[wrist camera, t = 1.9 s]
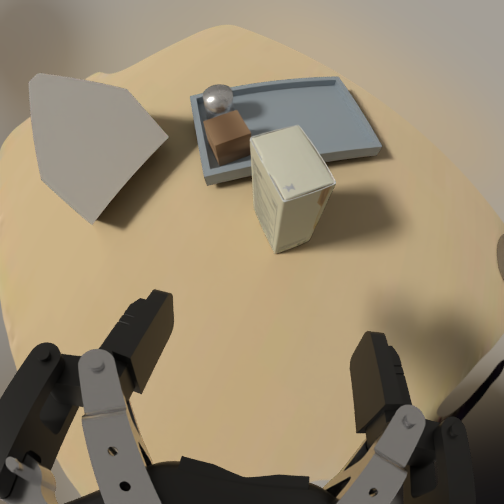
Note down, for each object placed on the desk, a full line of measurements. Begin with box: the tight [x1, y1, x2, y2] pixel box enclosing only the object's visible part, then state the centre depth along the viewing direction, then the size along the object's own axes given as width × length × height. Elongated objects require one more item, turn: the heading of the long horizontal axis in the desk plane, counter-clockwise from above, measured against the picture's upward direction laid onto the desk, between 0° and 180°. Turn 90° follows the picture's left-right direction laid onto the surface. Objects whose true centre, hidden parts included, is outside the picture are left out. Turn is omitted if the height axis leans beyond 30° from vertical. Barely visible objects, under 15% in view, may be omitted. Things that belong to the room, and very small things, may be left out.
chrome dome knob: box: [203, 84, 234, 119], centre depth 31 cm, size 4×4×4 cm
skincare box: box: [250, 125, 336, 254], centre depth 25 cm, size 6×4×12 cm
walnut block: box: [203, 110, 251, 166], centre depth 29 cm, size 4×4×4 cm
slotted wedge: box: [29, 73, 169, 225], centre depth 27 cm, size 14×11×18 cm
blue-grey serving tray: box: [190, 77, 382, 186], centre depth 33 cm, size 22×14×3 cm, turn 104°
